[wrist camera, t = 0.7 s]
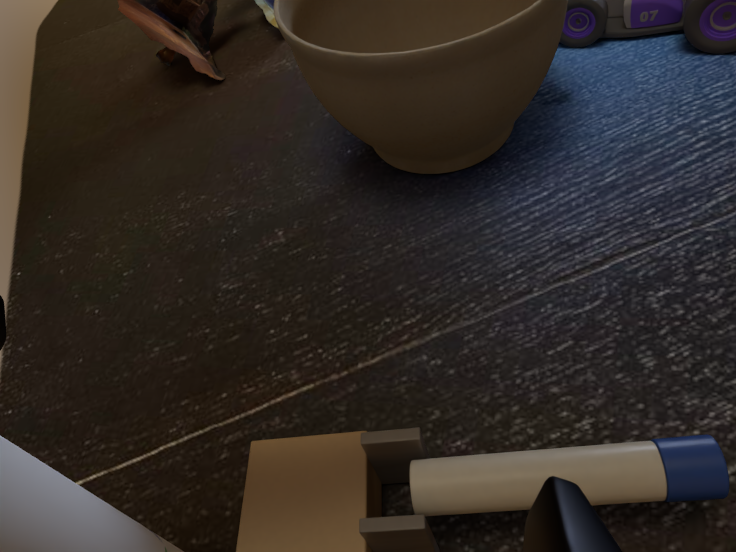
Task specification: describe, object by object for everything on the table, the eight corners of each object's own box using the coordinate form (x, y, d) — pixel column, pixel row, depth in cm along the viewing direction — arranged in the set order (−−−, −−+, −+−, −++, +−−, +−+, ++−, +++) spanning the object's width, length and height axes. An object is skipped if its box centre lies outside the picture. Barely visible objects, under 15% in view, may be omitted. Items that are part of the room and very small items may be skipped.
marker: (720, 507, 21) (735, 485, 19) (419, 526, 22) (410, 507, 21) (699, 449, 22) (711, 424, 20) (416, 471, 24) (408, 449, 22)
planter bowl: (279, 173, 41) (214, 24, 33) (411, 46, 48) (385, -104, 39) (485, 252, 33) (467, 78, 24) (611, 85, 39) (630, -96, 31)
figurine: (311, 49, 59) (217, -25, 60) (326, -24, 52) (218, -108, 53) (203, 133, 53) (99, 48, 54) (202, 63, 45) (80, -35, 46)
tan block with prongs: (441, 580, 23) (426, 549, 20) (261, 588, 24) (219, 560, 21) (433, 454, 26) (418, 410, 23) (274, 468, 27) (239, 427, 24)
